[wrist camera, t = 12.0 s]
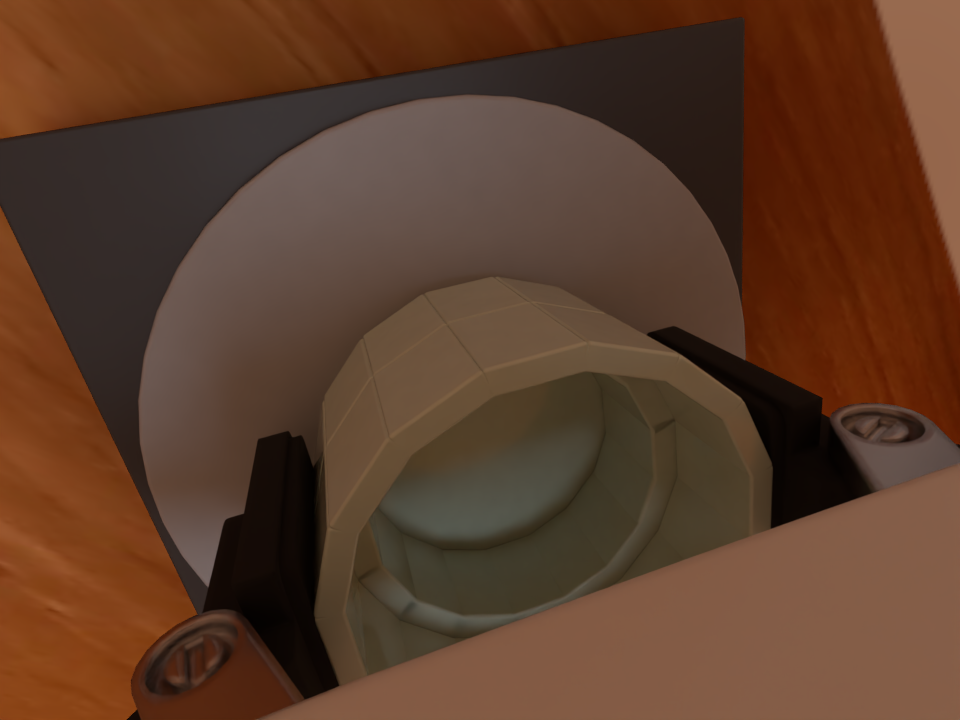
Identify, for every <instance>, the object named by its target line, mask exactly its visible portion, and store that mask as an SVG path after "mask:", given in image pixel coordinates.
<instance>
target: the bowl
mask: <svg viewBox="0 0 960 720" xmlns="http://www.w3.org/2000/svg"><path fill="white" fill-rule="evenodd" d="M772 486H773V467H772V462H771V460H770V457H769V455H768V453H767V451H766V449H765V446H764V444H763V442H762V440H761V438H760V435H759V433H758V431H757V429H756V426H755V424H754V422H753V420H752V418H751V415H750V413H749V411H748V409H747V407H746V404H745V402H744V401H743V400H742V399H741V397H740V396H738V395H737V394H735V393H734V392H733V391H731V390H730V389H728V388H727V387H726V386H724V385H723V384H722V383H720V382H719V381H717V380H716V379H715V378H713V377H712V376H710V375H709V374H708V373H706V372H705V371H703V370H702V369H701V368H699V367H698V366H697V365H695V364H694V363H692V362H691V361H690V360H688V359H687V358H685V357H684V356H683V355H681V354H679V353H677V352H676V351H674V350H672V349H670V348H668V347H667V346H665V345H663V344H661V343H660V342H658V341H656V340H654V339H652V338H651V337H649V336H647V335H645V334H643V333H642V332H640V331H638V330H636V329H634V328H633V327H631V326H629V325H627V324H625V323H624V322H622V321H620V320H618V319H617V318H615V317H613V316H611V315H609V314H607V313H605V312H603V311H602V310H600V309H598V308H596V307H595V306H593V305H591V304H589V303H587V302H586V301H584V300H582V299H580V298H578V297H577V296H575V295H573V294H571V293H569V292H568V291H566V290H563V289H561V288H559V287H556V286H550V285H544V284H539V283H533V282H527V281H521V280H515V279H510V278H504V277H488V278H484V279H480V280H476V281H472V282H467V283H463V284H459V285H455V286H451V287H446V288H442V289H438V290H434V291H430V292H426V293H425V294H424V295H423V294H422V295H420V296H418V297H417V298H416V299H414V300H413V301H411V302H410V303H409V304H407V305H406V306H404V307H403V308H402V309H400V310H399V311H397V312H396V313H394V314H393V315H392V316H390V317H389V318H387V319H386V320H385V321H383V322H382V323H380V324H379V325H378V326H376V327H375V328H373V329H372V330H370V331H369V332H368V333H366V334H365V335H364V336H363V339H361V340H360V341H359V342H358V343H357V345H356V347H355V348H354V350H353V351H352V353H351V355H350V356H349V358H348V359H347V361H346V362H345V364H344V366H343V367H342V369H341V370H340V372H339V373H338V375H337V377H336V378H335V380H334V381H333V383H332V384H331V386H330V388H329V389H328V391H327V392H326V394H325V396H324V401H323V403H322V405H321V412H320V419H319V426H318V433H317V440H316V447H315V454H314V524H313V613H314V617H315V623H316V626H317V629H318V631H319V634H320V636H321V639H322V642H323V644H324V647H325V650H326V652H327V655H328V658H329V660H330V663H331V665H332V668H333V671H334V673H335V676H336V679H337V681H338V684H339V686H341V685H343V684H346V683H348V682H351V681H354V680H357V679H359V678H362V677H365V676H367V675H370V674H373V673H376V672H378V671H381V670H384V669H387V668H389V667H392V666H395V665H398V664H400V663H403V662H406V661H408V660H411V659H414V658H417V657H419V656H422V655H425V654H428V653H430V652H433V651H436V650H439V649H441V648H444V647H447V646H449V645H452V644H455V643H458V642H460V641H463V640H466V639H469V638H471V637H474V636H477V635H479V634H482V633H485V632H487V631H490V630H493V629H496V628H498V627H501V626H504V625H506V624H509V623H512V622H515V621H517V620H520V619H523V618H525V617H528V616H531V615H534V614H536V613H539V612H542V611H545V610H547V609H550V608H553V607H556V606H558V605H561V604H564V603H567V602H569V601H572V600H575V599H578V598H580V597H583V596H586V595H589V594H591V593H594V592H597V591H600V590H602V589H605V588H608V587H611V586H613V585H616V584H619V583H622V582H624V581H627V580H630V579H633V578H635V577H638V576H641V575H644V574H647V573H649V572H652V571H655V570H658V569H660V568H663V567H666V566H669V565H671V564H674V563H677V562H680V561H682V560H685V559H688V558H691V557H693V556H696V555H699V554H702V553H705V552H707V551H710V550H713V549H716V548H719V547H721V546H724V545H727V544H730V543H733V542H735V541H738V540H741V539H744V538H747V537H749V536H752V535H755V534H758V533H761V532H764V531H766V530H769V529H771V514H772Z"/></svg>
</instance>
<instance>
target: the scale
mask: <svg viewBox="0 0 960 720" xmlns="http://www.w3.org/2000/svg"><path fill="white" fill-rule="evenodd" d="M743 127H744V18H742V17H739V18H733V19H727V20H721V21H715V22H709V23H703V24H696V25H690V26H684V27H678V28H672V29H666V30H660V31H654V32H648V33H642V34H636V35H630V36H623V37H617V38H611V39H605V40H599V41H593V42H587V43H581V44H575V45H569V46H563V47H557V48H550V49H544V50H538V51H532V52H526V53H520V54H514V55H508V56H502V57H496V58H490V59H484V60H477V61H471V62H465V63H459V64H453V65H447V66H441V67H435V68H429V69H423V70H417V71H411V72H404V73H398V74H392V75H386V76H380V77H374V78H368V79H362V80H356V81H350V82H344V83H338V84H331V85H325V86H319V87H313V88H307V89H301V90H295V91H289V92H283V93H277V94H271V95H265V96H258V97H252V98H246V99H240V100H234V101H228V102H222V103H216V104H210V105H204V106H198V107H192V108H185V109H179V110H173V111H167V112H161V113H155V114H149V115H143V116H137V117H131V118H125V119H119V120H112V121H106V122H100V123H94V124H88V125H82V126H76V127H70V128H64V129H58V130H52V131H46V132H39V133H33V134H27V135H21V136H15V137H9V138H3V139H0V206H1V208H2V210H3V212H4V214H5V216H6V219H7V221H8V223H9V225H10V227H11V229H12V231H13V233H14V235H15V237H16V239H17V241H18V243H19V245H20V248H21V250H22V252H23V254H24V256H25V258H26V260H27V262H28V264H29V266H30V268H31V270H32V272H33V274H34V276H35V279H36V281H37V283H38V285H39V287H40V289H41V291H42V293H43V295H44V297H45V299H46V301H47V303H48V305H49V308H50V310H51V312H52V314H53V316H54V318H55V320H56V322H57V324H58V326H59V328H60V330H61V332H62V334H63V336H64V339H65V341H66V343H67V345H68V347H69V349H70V351H71V353H72V355H73V357H74V359H75V361H76V363H77V365H78V368H79V370H80V372H81V374H82V376H83V378H84V380H85V382H86V384H87V386H88V388H89V390H90V392H91V394H92V397H93V399H94V401H95V403H96V405H97V407H98V409H99V411H100V413H101V415H102V417H103V419H104V421H105V423H106V425H107V428H108V430H109V432H110V434H111V436H112V438H113V440H114V442H115V444H116V446H117V448H118V450H119V452H120V454H121V457H122V459H123V461H124V463H125V465H126V467H127V469H128V471H129V473H130V475H131V477H132V479H133V481H134V483H135V486H136V488H137V490H138V492H139V494H140V496H141V498H142V500H143V502H144V504H145V506H146V508H147V510H148V512H149V514H150V517H151V519H152V521H153V523H154V525H155V527H156V529H157V531H158V533H159V535H160V537H161V539H162V541H163V543H164V546H165V548H166V550H167V552H168V554H169V556H170V558H171V560H172V562H173V564H174V566H175V568H176V570H177V572H178V574H179V577H180V579H181V581H182V583H183V585H184V587H185V589H186V591H187V593H188V595H189V597H190V599H191V601H192V603H193V606H194V608H195V610H196V612H197V614H202V612H203V608H204V604H205V600H206V595H207V591H208V587H209V583H210V578H211V574H212V570H213V566H214V562H215V557H216V553H217V549H218V545H219V540H220V536H221V532H222V528H223V524H224V522H225V520H226V519H228V518H230V517H234V516H237V515H240V514H244V510H245V505H246V500H247V494H248V489H249V484H250V478H251V473H252V468H253V462H254V457H255V451H256V446H257V441H258V439H260V438H264V437H267V436H271V435H275V434H278V433H282V432H286V431H289V432H290V434H291V436H292V437H296V436H299V435H302V436H303V438H304V441H305V444H306V447H307V450H308V453H309V456H310V459H311V462H312V465H313V468H314V454H315V447H316V440H317V433H318V426H319V419H320V412H321V405H322V403H323V401H324V396H325V394H326V392H327V391H328V389H329V388H330V386H331V384H332V383H333V381H334V380H335V378H336V377H337V375H338V373H339V372H340V370H341V369H342V367H343V366H344V364H345V362H346V361H347V359H348V358H349V356H350V355H351V353H352V351H353V350H354V348H355V347H356V345H357V343H358V342H359V341H360V340H361V339H363V336H364V335H365V334H366V333H368V332H369V331H370V330H372V329H373V328H375V327H376V326H378V325H379V324H380V323H382V322H383V321H385V320H386V319H387V318H389V317H390V316H392V315H393V314H394V313H396V312H397V311H399V310H400V309H402V308H403V307H404V306H406V305H407V304H409V303H410V302H411V301H413V300H414V299H416V298H417V297H418V296H420V295H422V294H423V295H424V294H425V293H426V292H430V291H434V290H438V289H442V288H446V287H451V286H455V285H459V284H463V283H467V282H472V281H476V280H480V279H484V278H488V277H504V278H510V279H515V280H521V281H527V282H533V283H539V284H544V285H550V286H556V287H559V288H561V289H563V290H566V291H568V292H569V293H571V294H573V295H575V296H577V297H578V298H580V299H582V300H584V301H586V302H587V303H589V304H591V305H593V306H595V307H596V308H598V309H600V310H602V311H603V312H605V313H607V314H609V315H611V316H613V317H615V318H617V319H618V320H620V321H622V322H624V323H625V324H627V325H629V326H631V327H633V328H634V329H636V330H638V331H640V332H642V333H643V334H645V335H647V334H648V333H649V332H652V331H656V330H660V329H663V328H667V327H671V326H676V327H678V328H680V329H682V330H685V331H687V332H689V333H691V334H693V335H695V336H697V337H699V338H701V339H703V340H705V341H707V342H709V343H711V344H713V345H715V346H717V347H719V348H721V349H723V350H725V351H727V352H729V353H731V354H734V355H736V356H738V357H740V358H742V359H744V360H745V357H746V349H745V329H744V317H743V312H742V239H743Z"/></svg>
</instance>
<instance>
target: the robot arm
mask: <svg viewBox="0 0 960 720" xmlns="http://www.w3.org/2000/svg"><path fill="white" fill-rule="evenodd" d="M647 336H649V337H651V338H652V339H654V340H656V341H658V342H660V343H661V344H663V345H665V346H667V347H668V348H670V349H672V350H674V351H676V352H677V353H679V354H681V355H683V356H684V357H685V358H687V359H688V360H690V361H691V362H692V363H694V364H695V365H697V366H698V367H699V368H701V369H702V370H703V371H705V372H706V373H708V374H709V375H710V376H712V377H713V378H715V379H716V380H717V381H719V382H720V383H722V384H723V385H724V386H726V387H727V388H728V389H730V390H731V391H733V392H734V393H735V394H737V395H738V396H740V397H741V399H742V400H743V401H744V402H745V404H746V407H747V409H748V411H749V413H750V415H751V418H752V420H753V422H754V424H755V426H756V429H757V431H758V433H759V435H760V438H761V440H762V442H763V444H764V446H765V449H766V451H767V453H768V455H769V457H770V460H771V462H772V467H773V486H772V514H771V529H769V530H766V531H764V532H761V533H758V534H755V535H752V536H749V537H747V538H744V539H741V540H738V541H735V542H733V543H730V544H727V545H724V546H721V547H719V548H716V549H713V550H710V551H707V552H705V553H702V554H699V555H696V556H693V557H691V558H688V559H685V560H682V561H680V562H677V563H674V564H671V565H669V566H666V567H663V568H660V569H658V570H655V571H652V572H649V573H647V574H644V575H641V576H638V577H635V578H633V579H630V580H627V581H624V582H622V583H619V584H616V585H613V586H611V587H608V588H605V589H602V590H600V591H597V592H594V593H591V594H589V595H586V596H583V597H580V598H578V599H575V600H572V601H569V602H567V603H564V604H561V605H558V606H556V607H553V608H550V609H547V610H545V611H542V612H539V613H536V614H534V615H531V616H528V617H525V618H523V619H520V620H517V621H515V622H512V623H509V624H506V625H504V626H501V627H498V628H496V629H493V630H490V631H487V632H485V633H482V634H479V635H477V636H474V637H471V638H469V639H466V640H463V641H460V642H458V643H455V644H452V645H449V646H447V647H444V648H441V649H439V650H436V651H433V652H430V653H428V654H425V655H422V656H419V657H417V658H414V659H411V660H408V661H406V662H403V663H400V664H398V665H395V666H392V667H389V668H387V669H384V670H381V671H378V672H376V673H373V674H370V675H367V676H365V677H362V678H359V679H357V680H354V681H351V682H348V683H346V684H343V685H341V686H339V684H338V681H337V679H336V676H335V673H334V671H333V668H332V665H331V663H330V660H329V658H328V655H327V652H326V650H325V647H324V644H323V642H322V639H321V636H320V634H319V631H318V629H317V626H316V623H315V617H314V613H313V524H314V468H313V465H312V462H311V459H310V456H309V453H308V450H307V447H306V444H305V441H304V438H303V436H302V435H299V436H296V437H292V436H291V434H290V432H289V431H286V432H282V433H278V434H275V435H271V436H267V437H264V438H260V439H258V441H257V446H256V451H255V457H254V462H253V468H252V473H251V478H250V484H249V489H248V494H247V500H246V505H245V510H244V514H240V515H237V516H234V517H230V518H228V519H226V520H225V522H224V524H223V528H222V532H221V536H220V540H219V545H218V549H217V553H216V557H215V562H214V566H213V570H212V574H211V578H210V583H209V587H208V591H207V595H206V600H205V604H204V608H203V612H202V614H198V615H195V616H193V617H191V618H189V619H187V620H185V621H183V622H181V623H179V624H177V625H176V626H174V627H173V628H172V629H170V630H169V631H168V632H166V633H165V634H164V635H162V636H161V637H160V638H159V639H158V640H157V641H156V642H155V643H154V644H153V645H152V646H151V647H150V648H149V649H148V650H147V651H146V652H145V654H144V655H143V657H142V658H141V660H140V661H139V663H138V664H137V666H136V668H135V671H134V673H133V676H132V679H131V691H132V696H133V699H134V702H135V705H136V707H137V711H135V712H134V713H133V714H132V715H131V716H130V717H129V718H128V719H127V720H960V445H958V444H955V443H953V442H952V441H951V440H950V439H949V438H948V437H947V436H946V435H945V434H944V433H943V432H942V431H941V430H940V429H939V428H938V427H937V426H936V425H935V424H934V423H933V422H932V421H931V420H929V419H928V418H926V417H925V416H924V415H922V414H919V413H917V412H915V411H912V410H910V409H906V408H902V407H899V406H895V405H888V404H881V403H859V404H851V405H847V406H844V407H841V408H839V409H837V410H836V411H834V412H833V413H832V415H831V417H830V418H829V417H827V416H825V415H823V414H821V412H822V398H821V397H819V396H817V395H815V394H813V393H811V392H809V391H807V390H805V389H803V388H801V387H799V386H797V385H795V384H793V383H791V382H789V381H787V380H785V379H782V378H780V377H778V376H776V375H774V374H772V373H770V372H768V371H766V370H764V369H762V368H760V367H758V366H756V365H754V364H752V363H750V362H748V361H746V360H744V359H742V358H740V357H738V356H736V355H734V354H731V353H729V352H727V351H725V350H723V349H721V348H719V347H717V346H715V345H713V344H711V343H709V342H707V341H705V340H703V339H701V338H699V337H697V336H695V335H693V334H691V333H689V332H687V331H685V330H682V329H680V328H678V327H676V326H671V327H667V328H663V329H660V330H656V331H652V332H649V333H648V334H647Z"/></svg>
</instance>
